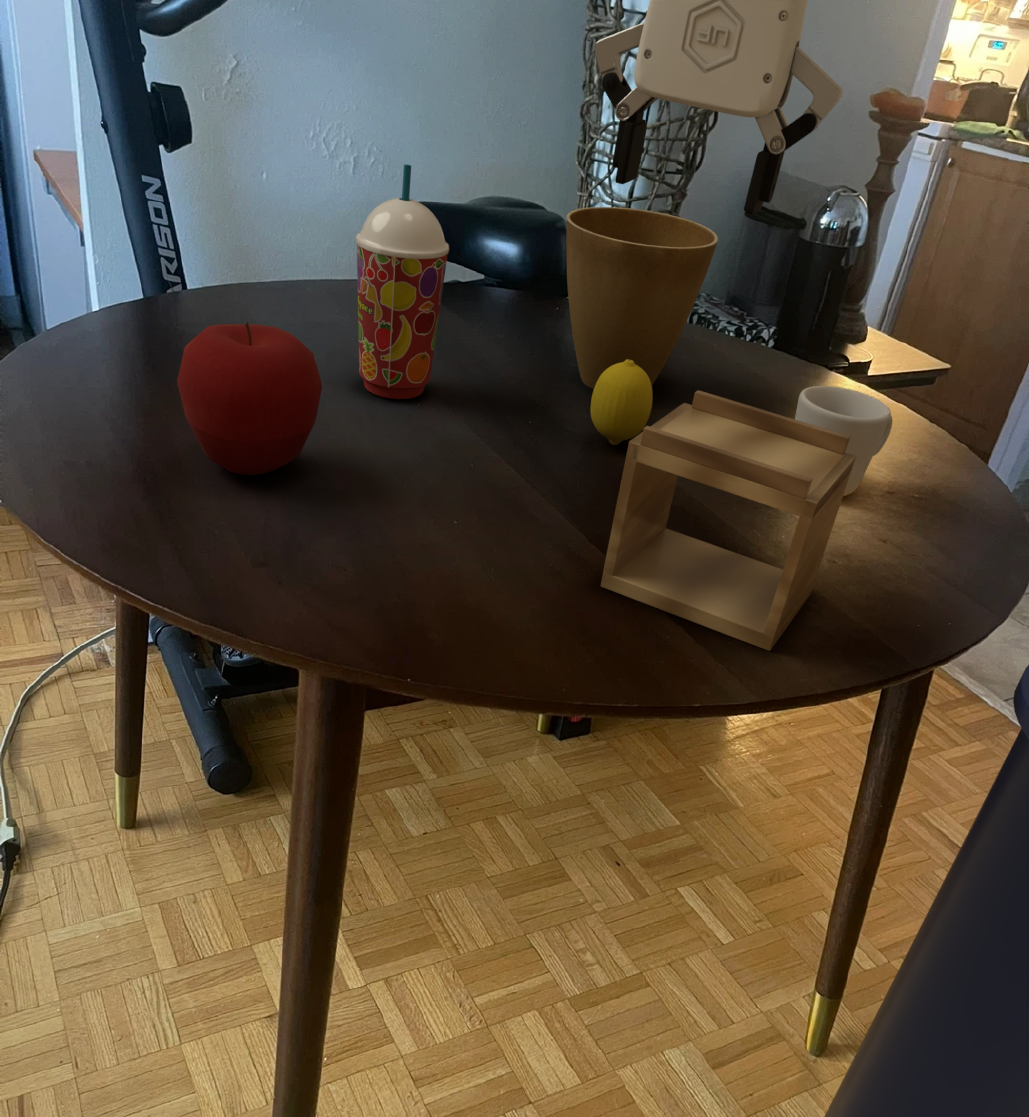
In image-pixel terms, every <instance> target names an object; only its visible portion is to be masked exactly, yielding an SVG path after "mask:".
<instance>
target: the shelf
mask: <svg viewBox="0 0 1029 1117" xmlns="http://www.w3.org/2000/svg"><path fill="white" fill-rule="evenodd" d="M849 439H850V436H848V435H844V434H841V433H838V432H835V431H831V430H828V429H825V428H821V427H818V426H815V425H811V424H808V423H805V422H801V421H798V420H795V418H791V417H788V416H784V415H782V414H778V413H775V412H772V411H769V410H765V409H762V408H758V407H755V406H752V405H749V404H745V403H742V402H739V401H735V400H732V399H730V398H726V397H722V396H719V395H715V394H712V393H708V392H705V391H702V390H696V391H695V392H694V395H693V399H692V404H689V403H687V402H683V403H682V404H680V405H679V406H678V407H676V408H675V409H673V410H672V411H671V412H669V413H668V414H666V415H665V416H664V417H662V418H660V419H659V420H658V421H656V422H655V423H653V424H652V425H650V426H649V425H645V427H644V428H643V429H642V431H641V432H640V433H638V434H637V435H636V436H634V437H633V438H631V439H630V440H629V441H628V446H627V451H626V455H625V461H624V465H623V470H622V476H621V479H620V480H621V481H620V485H619V490H618V496H617V501H616V504H615V510H614V516H613V521H612V526H611V529H610V536H609V540H608V546H607V549H606V550H607V551H606V556H605V561H604V565H603V566H604V567H603V571H602V576H601V580H600V581H601V582H600V587H601V588H603V589H606V590H608V591H611V592H614V593H617V594H618V595H622V596H624V597H626V598H629V599H632V600H634V601H637V602H640V603H642V604H645V605H647V606H650V607H653V608H656V609H658V610H661V611H663V612H665V613H668V614H671V615H674V616H676V617H679V618H682V619H684V620H687V621H690V622H692V623H695V624H698V625H700V626H703V627H705V628H708V629H710V630H712V631H715V632H718V633H721V634H723V635H726V636H729V637H731V638H734V639H737V640H739V641H742V642H744V643H747V644H750V645H752V646H755V647H757V648H760V649H763V650H765V651H767V652H770V651H771V650H772V649H773V648H774V646H775V645H776V644H777V642H778V640H779V639H780V637H781V636H782V635H783V633H784V632H785V631H786V629H787V628H788V626H789V625H790V624H791V623H792V621H793V619H794V618H795V617H796V615H797V613H798V612H799V611H800V610H801V609H802V607H803V605H804V604H805V603H806V601H807V600H808V599H809V597H810V595H811V594H812V591H813V588H814V585H815V581H816V579H817V576H818V573H819V570H820V567H821V564H822V561H823V557H824V555H825V552H826V550H827V545H828V542H829V540H830V537H831V533H832V531H833V528H834V526H835V525H834V524H835V522H836V519H837V516H838V512H839V510H840V506H841V503H842V500H843V498H844V496H843V495H844V492H845V489H846V486H847V483H848V480H849V477H850V474H851V471H852V468H853V465H854V462H855V459H856V456H855V455H852V454H848V453H845V451H846V448H847V445H848V442H849ZM678 477H681V478H685V479H687V480H690V481H694V482H696V483H699V484H702V485H706V486H707V487H711V488H714V489H718V490H720V491H723V492H727V493H729V494H732V495H736V496H738V497H741V498H744V499H747V500H750V501H753V502H756V503H759V504H762V505H765V506H768V507H771V508H775V509H777V510H781V511H783V512H787V513H789V514H792V515H795V516H798V520H797V523H796V527H795V530H794V533H793V536H792V538H791V539H792V540H791V543H790V546H789V549H788V552H787V556H786V558H785V562H784V565H783V567H782V568H783V569H782V568H780V567H776V566H774V565H771V564H768V563H765V562H764V561H759V560H757V559H754V558H751V557H748V556H745V555H742V554H740V553H737V552H735V551H731V550H730V549H729V550H728V549H725V548H724V547H720V546H717V545H714V544H712V543H709V542H706V541H704V540H700V539H697V538H695V537H691V536H689V535H686V534H683V533H680V532H678V531H675V530H672V529H669V528H667V524H668V520H669V516H670V511H671V506H672V502H673V498H674V495H675V494H674V493H675V490H676V485H677V481H678Z"/></svg>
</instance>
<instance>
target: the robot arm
mask: <svg viewBox="0 0 1029 1117" xmlns="http://www.w3.org/2000/svg"><path fill="white" fill-rule="evenodd" d="M807 5H808V0H649V3H648V7H647V11H646V15H645V18H644V22H641V23H639V24H636V25H633V26H631V27H629V28H626V29H624V30H621V31H619V32H616V33H613V34H611V35H608V36H606V37H604V38H601V39H599V40H598V41H596V42H595V43H594V48H593V49H594V54H595V57H596V62H597V67H598V70H599V74H600V77H601V87H602V89H603V91H604V93H605V94H606V96H607V98H608V100H609V102H610V103H611V105H612V107H613V108H614V114H615V117H616V119H617V120H619V122H618V128H617V132H616V133H617V134H616V140H615V144H614V145H615V146H614V152H613V157H612V168H615V169H616V175H615V184H619V185H625V184H627V183H629V182H632V181H635V180H636V179H638V174H639V169H640V164H641V160H642V153H643V149H644V144H645V138H646V134H647V127H648V122H647V120H646V119H644V115H645V111H647V110H648V109H649V108H650V107H651V106H652V105H653V104H654V103H655V102H656V101H657V100H661V101H665V102H671V103H674V104H675V103H676V104H680V105H685V106H688V107H689V106H690V107H694V108H698V109H703V110H708V111H713V112H717V113H722V114H727V115H733V116H738V117H743V118H744V117H745V118H754V119H755V121H756V124H757V126H758V128H759V130H760V133H761V135H762V137H763V140H764V145H763V149H762V150H761V151H758V152H757V154H756V158H755V163H754V166H753V171H752V174H751V178H750V182H749V186H748V190H747V195H746V198H745V202H744V206H743V212H745V214H748V215H752V216H753V215H755V214H757V213H759V211H761V210H762V207H763V204H764V203H767V204H770V203H772V202H771V201H772V200H773V196H774V194H775V190H776V186H777V182H778V178H779V175H780V171H781V168H782V163H783V161H784V160H783V159H784V155H785V153H786V152H785V151H787V150H789V149H790V148H791V147H793V146H794V145H795V144H797V143H799V142H800V141H801V140H802V139H804V138H806V137H807V136H808V135H810V134H811V133H812V132H814V131H815V130H816V129H818V127H819V125H820V124H821V123H822V122H823V121H824V120H825V118H827V117H828V114H829V113H830V112H831V111H832V110H833V108H834V107H835V106H836V105H837V103H839V101H840V100H841V98H842V97H843V89H842V87H841V86H840V85H839V84H838V83H837V82H836V80H834V79H833V78H832V77H831V76H830V75H829V74H827V72H825V70H824V69H823V68H821V66H820V65H818V64H817V63H816V62H815V61H814V60H813V59H812V58H810V56H809V55H808V54H806V53H805V51H803V49H801V48H800V46H801V45H800V44H801V40H802V34H803V28H804V23H805V18H806V11H807ZM637 48H638V49H637ZM635 49H637V53H636V58H635V65H634V71H633V72H634V73H633V81H634V84H635V87H634V88H633V89H632V87H631V86H630V85H629V82H628V81H627V79H626V77H625V75H624V74H623V72H622V71H623V70H622V68H621V67H622V64H621V58H622V55H624V54H625V53H627V52H630V51H633V50H635ZM794 77H795V78H796V79H797V80H798V81H799V82H800V83H801V84H802V85H803V86H804V87H805V88H806V89H807V90H809V91H810V93H811V94H812V97H813V98H812V101H811V103H810V104H809V106H808V107H807V109H806V110H805V111H804V112H803V113H802V115H801V116H799V117H798V118H796V119H795V120H793V121H792V122H791V123H789V124H788V122H787V119H786V117H785V115H784V112H783V109H782V107H783V106H784V105H785V103H786V101H787V98H788V97H789V93H790V90H791V87H792V83H793V78H794Z"/></svg>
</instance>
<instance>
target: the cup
mask: <svg viewBox="0 0 1029 1117" xmlns="http://www.w3.org/2000/svg"><path fill="white" fill-rule="evenodd" d="M794 419H795V420H798V421H801V422H805V423H808V424H811V425H815V426H818V427H821V428H825V429H828V430H831V431H835V432H838V433H841V434H844V435H848V436H850V439H849V442H848V445H847V448H846V451H845V453H848V454H852V455H855V456H856V459H855V462H854V465H853V468H852V471H851V474H850V477H849V480H848V483H847V486H846V489H845V492H844V495H843V497H846V496H848V495H850V494H852V493H853V492H854V491H856V489H857V488H858V487H859V486H860V484H861V482H862V481H863V479H864V476H865V474H866V471H867V469H868V467H869V465H870V463H871V461H872V458H873V457H875V456H876V455H877V454H879V453H880V451H881V450H882V449H883V448H884V446H885V444H886V442H887V441H888V439H889V436H890V434H891V431H892V428H893V421H894V420H893V416H892V411H891V409H890V408H889V406H887V404H886V403H884V402H882V401H881V400H879V399H878V398H876V397H874V396H871V395H869V394H867V393H865V392H864V393H863V392H861V391H858V390H854V389H851V388H846V387H839V386H833V385H832V386H831V385H814V386H809V387H806V388H804V389H803V390H802V391H801V392H800V393H799V396H798V401H797V405H796V410H795V417H794Z"/></svg>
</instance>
